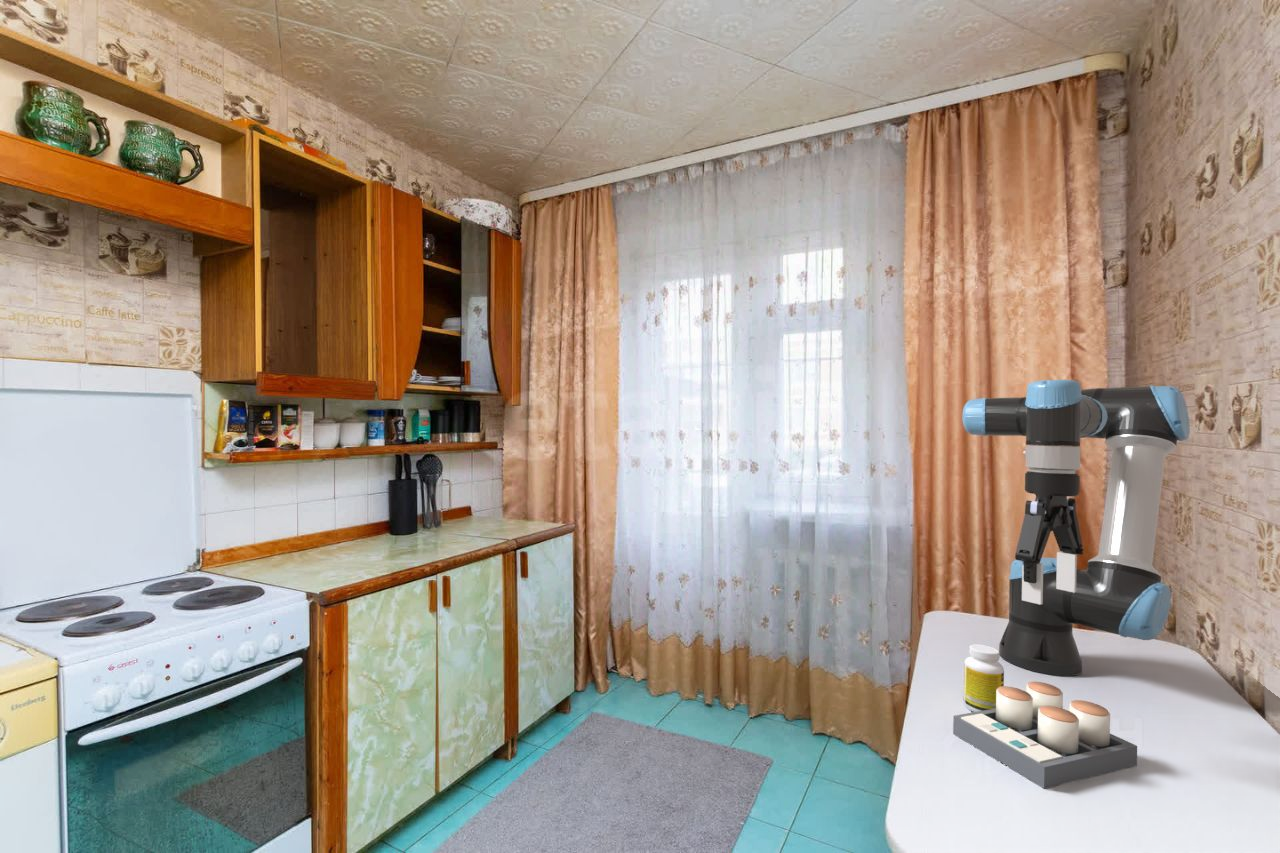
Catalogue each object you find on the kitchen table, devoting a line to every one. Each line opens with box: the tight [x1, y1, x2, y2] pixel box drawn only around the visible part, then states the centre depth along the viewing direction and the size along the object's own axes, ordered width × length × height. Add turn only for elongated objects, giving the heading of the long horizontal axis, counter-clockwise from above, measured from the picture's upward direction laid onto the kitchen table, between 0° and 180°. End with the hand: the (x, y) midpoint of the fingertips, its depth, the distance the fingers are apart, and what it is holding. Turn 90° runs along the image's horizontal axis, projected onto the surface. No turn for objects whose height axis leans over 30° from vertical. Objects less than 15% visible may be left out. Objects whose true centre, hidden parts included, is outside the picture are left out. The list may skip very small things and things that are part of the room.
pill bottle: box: [963, 643, 1005, 713], centre depth 102 cm, size 6×6×11 cm
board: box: [952, 708, 1138, 790], centre depth 90 cm, size 20×15×3 cm
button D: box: [1037, 706, 1079, 754], centre depth 86 cm, size 5×5×5 cm
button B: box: [1068, 699, 1111, 747], centre depth 88 cm, size 5×5×5 cm
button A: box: [1025, 681, 1064, 720], centre depth 95 cm, size 5×5×5 cm
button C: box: [996, 685, 1033, 730], centre depth 92 cm, size 5×5×5 cm
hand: (1049, 596), depth 95 cm, fingers open, 13 cm apart
